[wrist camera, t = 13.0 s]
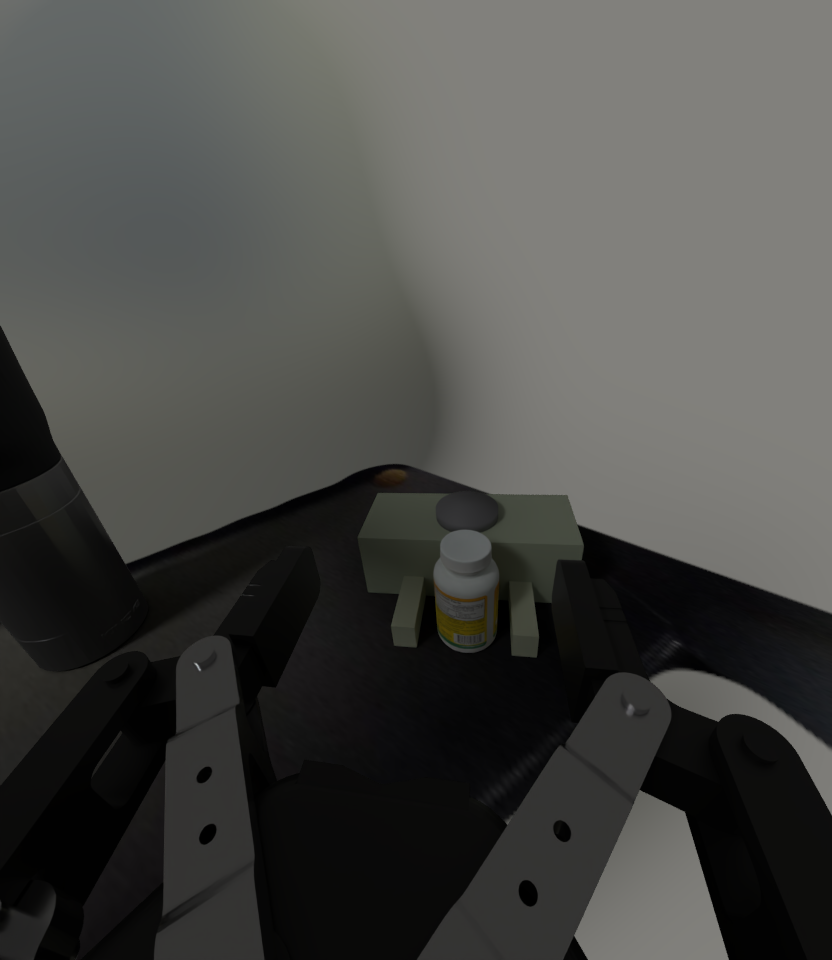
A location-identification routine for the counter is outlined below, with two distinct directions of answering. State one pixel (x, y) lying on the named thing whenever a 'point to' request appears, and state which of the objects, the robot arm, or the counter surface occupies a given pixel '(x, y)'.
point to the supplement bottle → (466, 591)
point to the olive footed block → (501, 518)
